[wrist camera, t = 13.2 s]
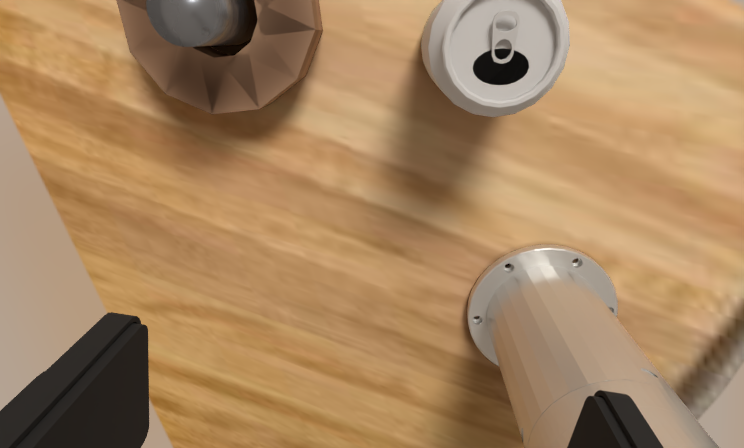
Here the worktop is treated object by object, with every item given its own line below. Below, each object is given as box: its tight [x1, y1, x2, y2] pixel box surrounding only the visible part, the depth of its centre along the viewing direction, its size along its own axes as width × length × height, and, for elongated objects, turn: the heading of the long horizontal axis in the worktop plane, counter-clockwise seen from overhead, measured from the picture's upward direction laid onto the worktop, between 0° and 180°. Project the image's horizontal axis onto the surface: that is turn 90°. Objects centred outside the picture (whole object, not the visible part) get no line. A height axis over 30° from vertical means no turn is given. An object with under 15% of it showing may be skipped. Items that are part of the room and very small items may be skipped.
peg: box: [146, 0, 258, 47], centre depth 32 cm, size 4×4×9 cm
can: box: [421, 0, 570, 117], centre depth 30 cm, size 8×8×12 cm
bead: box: [117, 0, 323, 114], centre depth 35 cm, size 13×13×4 cm
